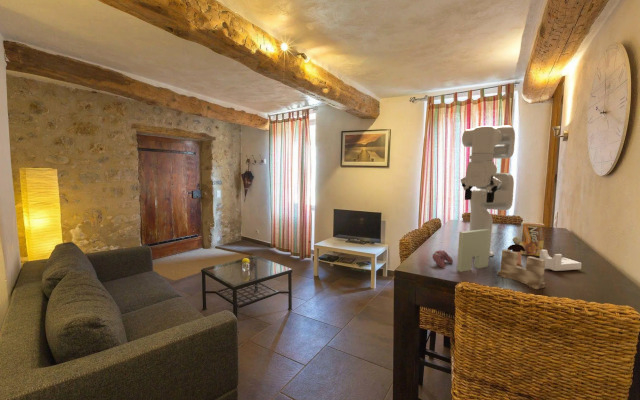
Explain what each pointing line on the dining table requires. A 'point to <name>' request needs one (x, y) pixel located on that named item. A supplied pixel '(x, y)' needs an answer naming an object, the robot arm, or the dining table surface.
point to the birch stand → (522, 269)
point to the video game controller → (441, 258)
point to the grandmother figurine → (517, 248)
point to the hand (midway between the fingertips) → (478, 201)
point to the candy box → (532, 238)
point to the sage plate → (473, 249)
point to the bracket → (558, 262)
